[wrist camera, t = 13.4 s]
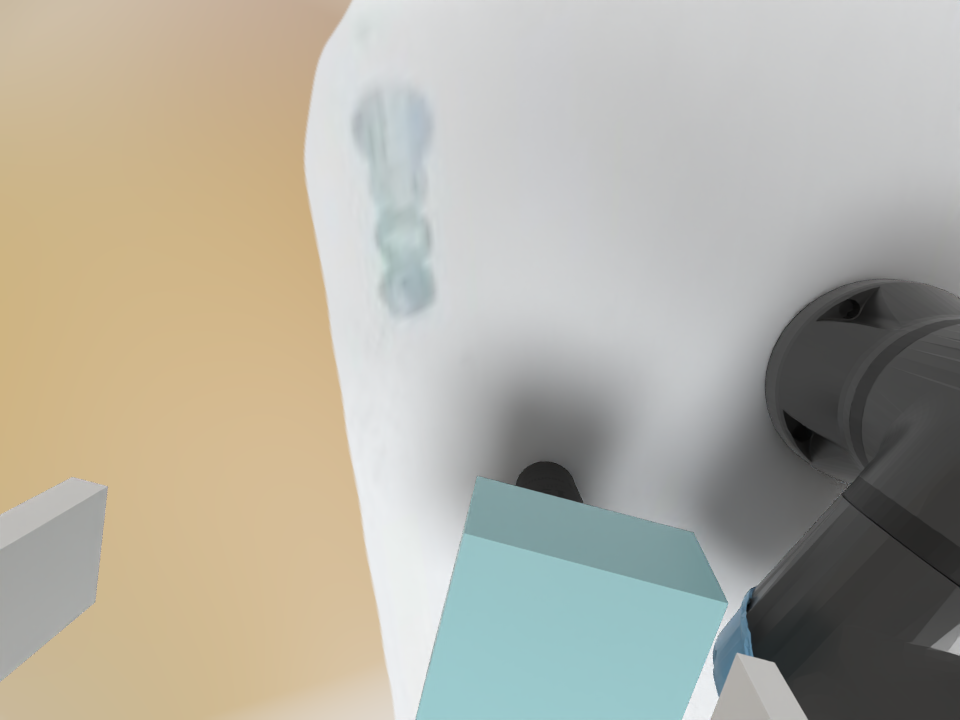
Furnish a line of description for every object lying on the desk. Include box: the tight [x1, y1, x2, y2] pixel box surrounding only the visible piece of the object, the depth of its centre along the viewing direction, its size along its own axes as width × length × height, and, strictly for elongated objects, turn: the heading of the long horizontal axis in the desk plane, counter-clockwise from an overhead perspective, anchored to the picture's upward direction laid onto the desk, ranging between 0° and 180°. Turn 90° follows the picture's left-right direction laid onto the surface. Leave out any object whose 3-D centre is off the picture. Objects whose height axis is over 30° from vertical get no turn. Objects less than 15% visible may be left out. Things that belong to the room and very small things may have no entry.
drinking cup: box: [516, 462, 584, 504], centre depth 38 cm, size 8×8×20 cm
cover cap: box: [416, 476, 728, 720], centre depth 30 cm, size 12×12×6 cm
